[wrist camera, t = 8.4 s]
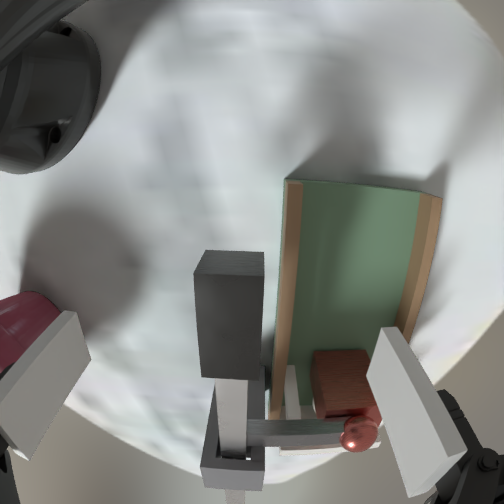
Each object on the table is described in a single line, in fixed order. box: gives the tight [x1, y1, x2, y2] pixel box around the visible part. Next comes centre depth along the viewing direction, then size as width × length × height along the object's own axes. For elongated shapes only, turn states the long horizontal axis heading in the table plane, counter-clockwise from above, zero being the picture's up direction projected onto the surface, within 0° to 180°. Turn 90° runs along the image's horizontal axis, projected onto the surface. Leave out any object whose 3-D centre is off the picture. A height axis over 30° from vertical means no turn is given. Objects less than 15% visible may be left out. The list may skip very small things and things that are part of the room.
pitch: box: [200, 179, 443, 491], centre depth 20 cm, size 24×17×12 cm
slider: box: [194, 250, 382, 504], centre depth 21 cm, size 28×13×10 cm, turn 178°
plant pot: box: [0, 291, 61, 373], centre depth 22 cm, size 14×14×13 cm
